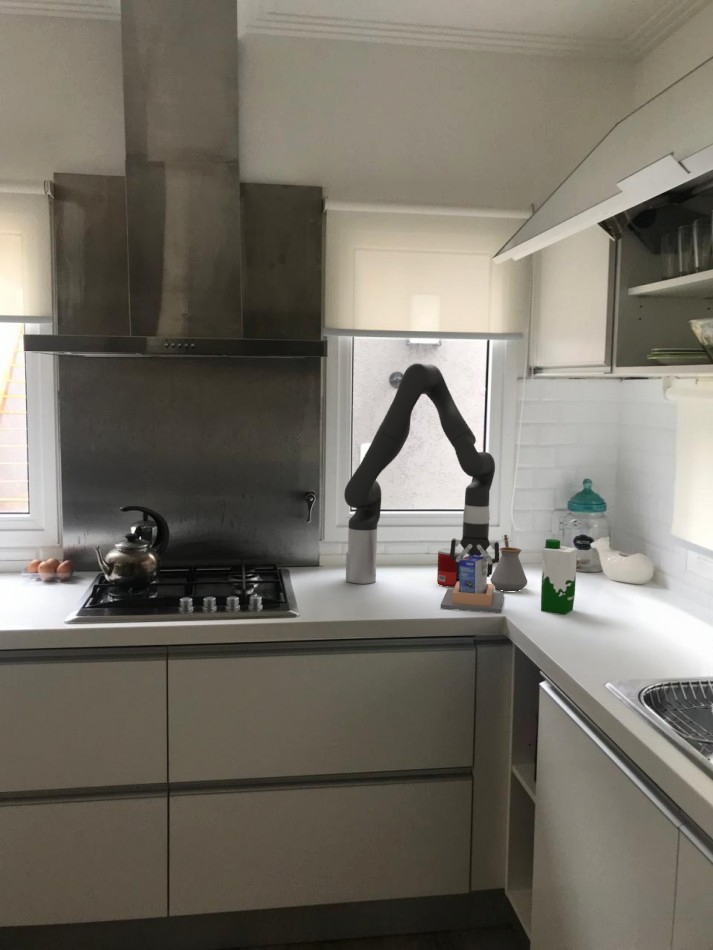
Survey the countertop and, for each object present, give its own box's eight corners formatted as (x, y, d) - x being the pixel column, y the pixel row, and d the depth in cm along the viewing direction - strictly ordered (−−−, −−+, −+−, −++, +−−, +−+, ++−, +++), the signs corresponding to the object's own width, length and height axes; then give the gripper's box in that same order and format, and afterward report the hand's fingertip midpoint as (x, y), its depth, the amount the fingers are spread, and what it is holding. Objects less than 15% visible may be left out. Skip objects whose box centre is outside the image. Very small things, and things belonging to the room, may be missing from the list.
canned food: (461, 588, 262) (462, 553, 261) (436, 586, 264) (437, 552, 263) (462, 582, 270) (463, 549, 269) (437, 581, 271) (438, 547, 270)
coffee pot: (529, 594, 256) (531, 546, 255) (491, 592, 257) (493, 545, 255) (521, 579, 277) (523, 534, 276) (486, 577, 278) (488, 533, 277)
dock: (440, 608, 237) (440, 594, 236) (447, 592, 256) (448, 579, 256) (500, 613, 233) (501, 598, 233) (503, 596, 253) (504, 582, 252)
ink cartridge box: (469, 593, 250) (471, 545, 249) (487, 596, 248) (489, 548, 246) (457, 600, 242) (459, 551, 240) (475, 603, 239) (477, 553, 238)
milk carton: (546, 604, 244) (549, 537, 242) (577, 609, 239) (580, 540, 237) (536, 611, 236) (539, 541, 234) (568, 616, 232) (571, 545, 230)
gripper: (450, 521, 240) (448, 576, 242) (500, 524, 237) (497, 580, 239) (452, 517, 247) (450, 571, 249) (501, 520, 244) (498, 574, 246)
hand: (473, 575), depth 244 cm, fingers open, 8 cm apart
